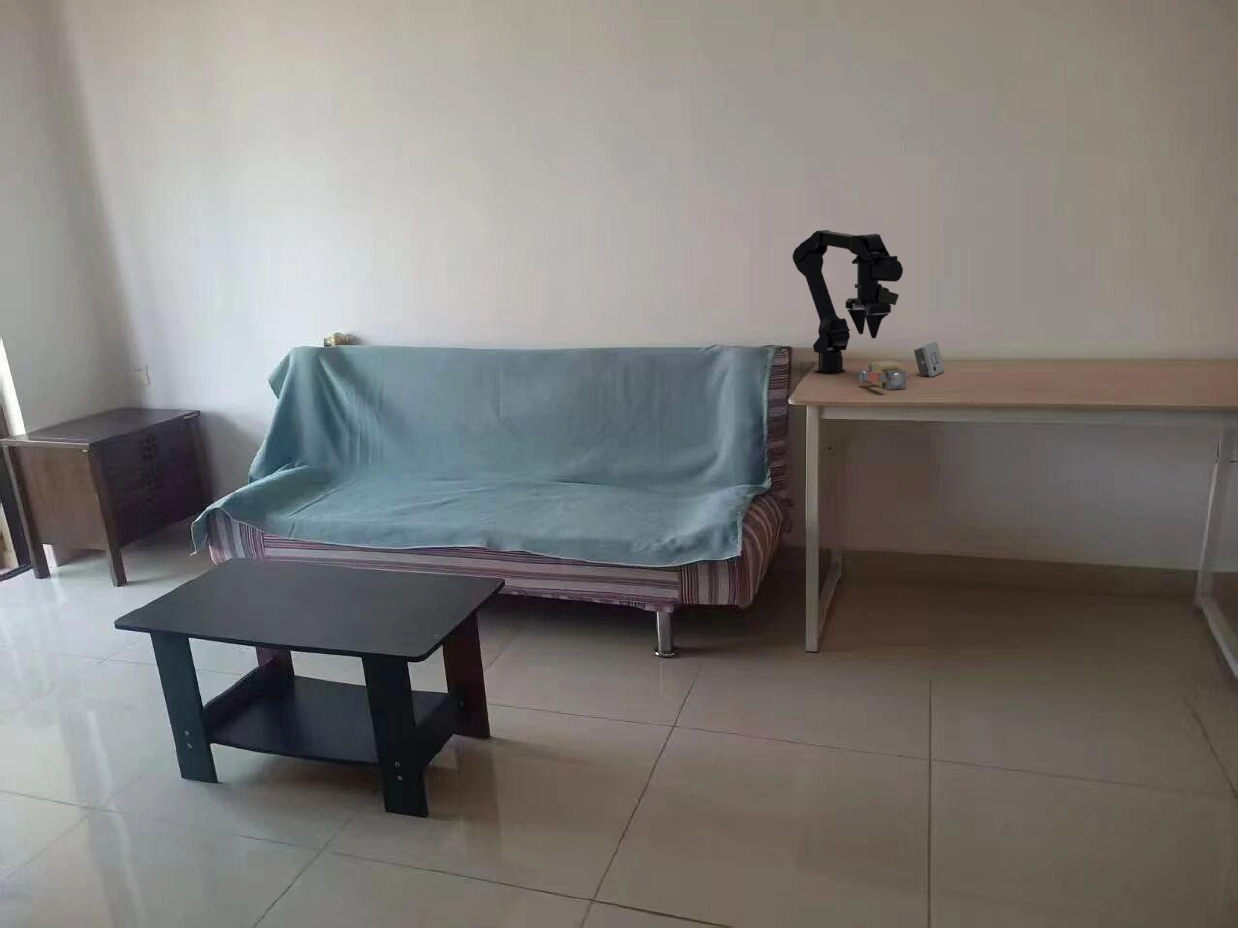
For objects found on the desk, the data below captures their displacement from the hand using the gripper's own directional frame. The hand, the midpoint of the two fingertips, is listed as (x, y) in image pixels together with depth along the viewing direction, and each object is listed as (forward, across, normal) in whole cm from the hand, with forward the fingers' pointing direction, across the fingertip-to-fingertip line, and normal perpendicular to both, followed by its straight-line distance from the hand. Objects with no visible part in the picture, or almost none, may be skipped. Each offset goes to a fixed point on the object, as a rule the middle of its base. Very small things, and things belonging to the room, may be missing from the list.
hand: (867, 336), depth 271 cm
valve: (+12, -12, 0) cm, 17 cm away
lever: (+9, -11, +6) cm, 15 cm away
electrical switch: (+12, -2, -18) cm, 22 cm away
